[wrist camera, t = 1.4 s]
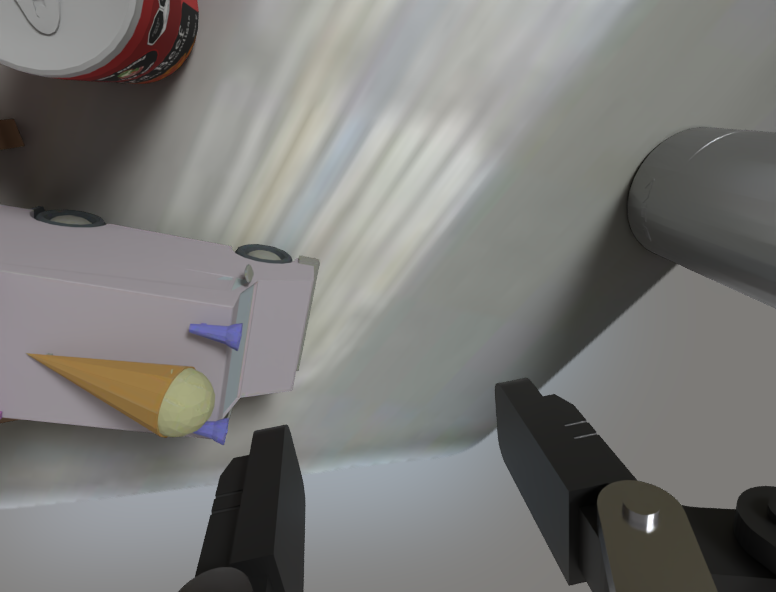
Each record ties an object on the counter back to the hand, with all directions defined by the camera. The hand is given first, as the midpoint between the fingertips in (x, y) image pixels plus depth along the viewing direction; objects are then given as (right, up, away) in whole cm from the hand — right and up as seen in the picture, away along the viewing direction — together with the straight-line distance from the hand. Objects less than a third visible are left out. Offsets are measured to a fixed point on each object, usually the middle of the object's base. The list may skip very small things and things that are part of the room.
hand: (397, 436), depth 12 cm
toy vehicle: (-15, +4, +22) cm, 27 cm away
